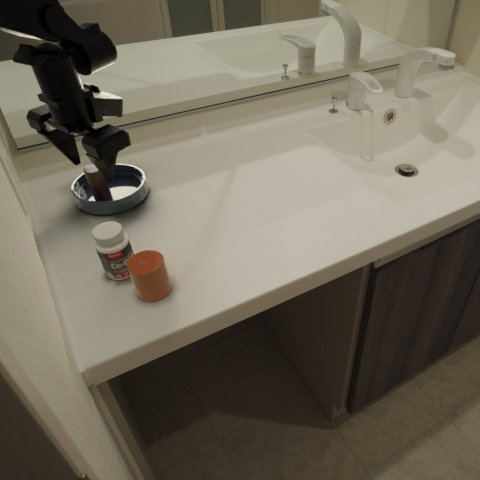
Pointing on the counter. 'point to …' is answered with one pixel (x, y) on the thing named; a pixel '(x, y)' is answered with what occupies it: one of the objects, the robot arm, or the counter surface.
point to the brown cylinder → (97, 184)
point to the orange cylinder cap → (149, 275)
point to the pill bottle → (113, 249)
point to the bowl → (113, 191)
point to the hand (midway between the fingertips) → (94, 172)
